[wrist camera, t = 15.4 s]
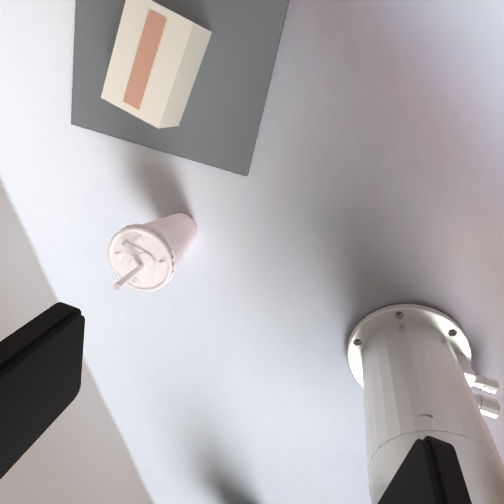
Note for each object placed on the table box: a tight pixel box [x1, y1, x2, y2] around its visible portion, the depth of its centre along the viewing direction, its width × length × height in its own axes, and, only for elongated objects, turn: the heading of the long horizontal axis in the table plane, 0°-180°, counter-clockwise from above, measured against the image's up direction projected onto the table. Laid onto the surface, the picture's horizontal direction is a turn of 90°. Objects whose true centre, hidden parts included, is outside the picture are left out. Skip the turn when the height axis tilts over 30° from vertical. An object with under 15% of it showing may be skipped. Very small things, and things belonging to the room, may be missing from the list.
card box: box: [101, 0, 212, 129], centre depth 34 cm, size 9×6×5 cm, turn 154°
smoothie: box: [108, 213, 197, 292], centre depth 36 cm, size 6×6×14 cm
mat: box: [71, 0, 289, 176], centre depth 37 cm, size 20×16×1 cm
